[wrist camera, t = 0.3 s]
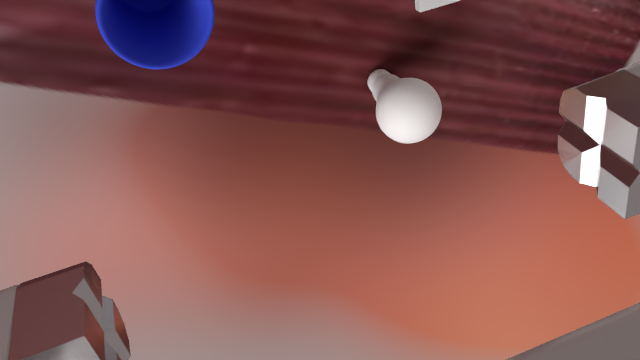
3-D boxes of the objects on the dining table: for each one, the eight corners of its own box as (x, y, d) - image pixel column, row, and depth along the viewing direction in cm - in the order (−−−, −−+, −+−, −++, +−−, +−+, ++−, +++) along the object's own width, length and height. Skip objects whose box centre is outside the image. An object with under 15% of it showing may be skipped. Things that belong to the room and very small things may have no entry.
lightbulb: (342, 102, 64) (384, 154, 55) (356, 46, 61) (402, 91, 52) (393, 105, 66) (441, 156, 58) (409, 51, 63) (462, 96, 55)
